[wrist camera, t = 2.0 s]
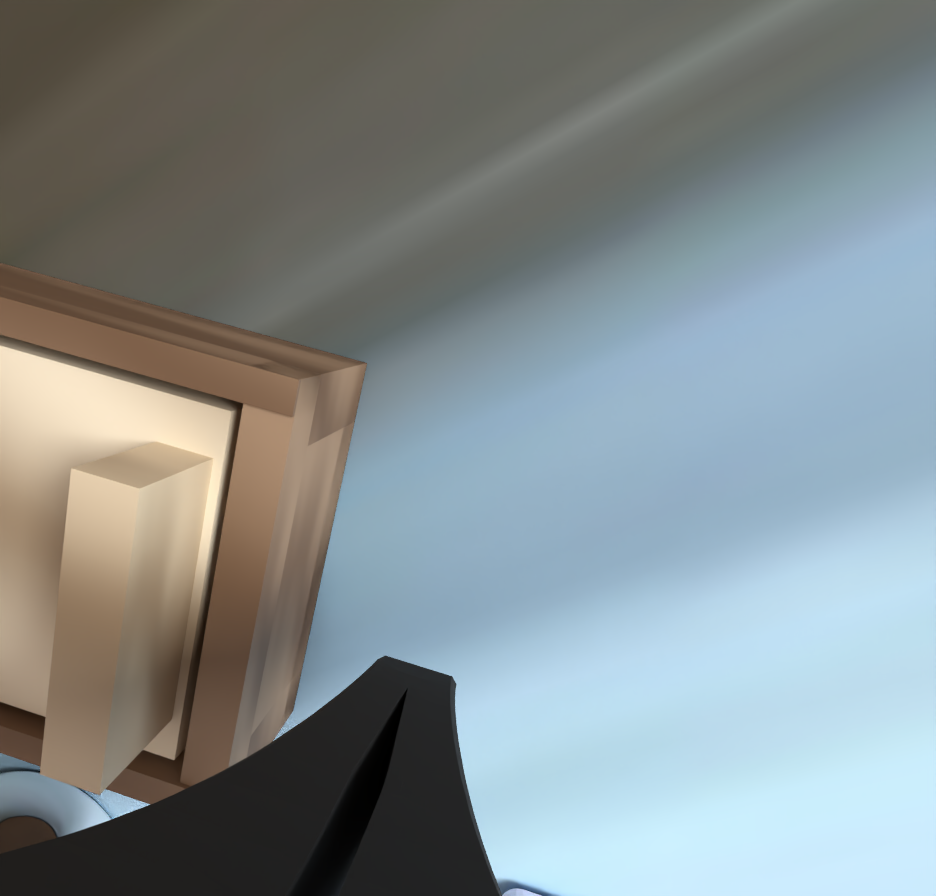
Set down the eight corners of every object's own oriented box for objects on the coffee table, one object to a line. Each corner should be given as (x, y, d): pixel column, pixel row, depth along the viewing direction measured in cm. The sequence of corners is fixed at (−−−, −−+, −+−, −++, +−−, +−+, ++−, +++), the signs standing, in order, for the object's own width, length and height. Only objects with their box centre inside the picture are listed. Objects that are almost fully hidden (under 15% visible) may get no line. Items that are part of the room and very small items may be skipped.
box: (293, 710, 18) (215, 827, 14) (-58, 596, 18) (-227, 674, 14) (367, 363, 15) (299, 379, 11) (-39, 252, 16) (-235, 231, 12)
